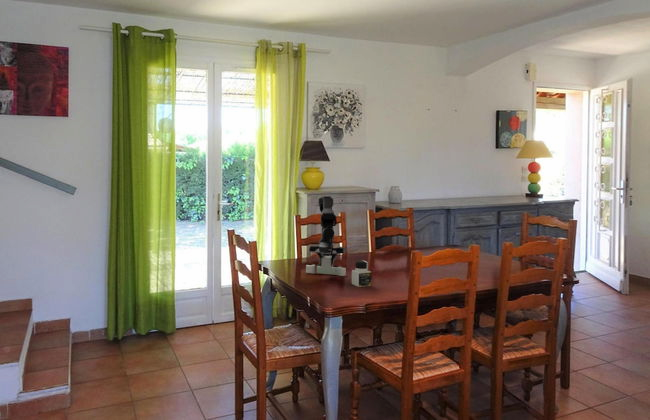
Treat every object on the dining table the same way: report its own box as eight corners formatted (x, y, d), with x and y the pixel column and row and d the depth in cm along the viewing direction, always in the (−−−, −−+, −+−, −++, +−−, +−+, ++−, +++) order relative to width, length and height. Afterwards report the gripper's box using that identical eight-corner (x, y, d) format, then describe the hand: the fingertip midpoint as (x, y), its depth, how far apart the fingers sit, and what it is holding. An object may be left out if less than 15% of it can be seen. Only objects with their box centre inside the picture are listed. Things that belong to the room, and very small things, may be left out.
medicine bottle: (358, 287, 261) (359, 263, 260) (351, 284, 267) (351, 260, 266) (371, 285, 264) (371, 261, 263) (363, 282, 271) (364, 259, 270)
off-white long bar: (307, 272, 294) (307, 264, 293) (345, 275, 287) (345, 267, 286) (305, 272, 292) (305, 264, 291) (344, 276, 285) (344, 267, 285)
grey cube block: (324, 266, 287) (325, 255, 286) (333, 266, 286) (333, 256, 285) (321, 268, 281) (321, 257, 281) (329, 269, 280) (329, 258, 279)
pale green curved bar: (315, 273, 289) (316, 266, 289) (317, 272, 291) (317, 266, 291) (337, 275, 286) (337, 268, 285) (338, 274, 288) (338, 267, 287)
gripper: (305, 237, 277) (305, 266, 279) (340, 239, 271) (340, 269, 273) (312, 234, 287) (312, 262, 289) (346, 236, 282) (345, 265, 283)
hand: (327, 265), depth 283 cm, fingers closed on grey cube block, 5 cm apart
